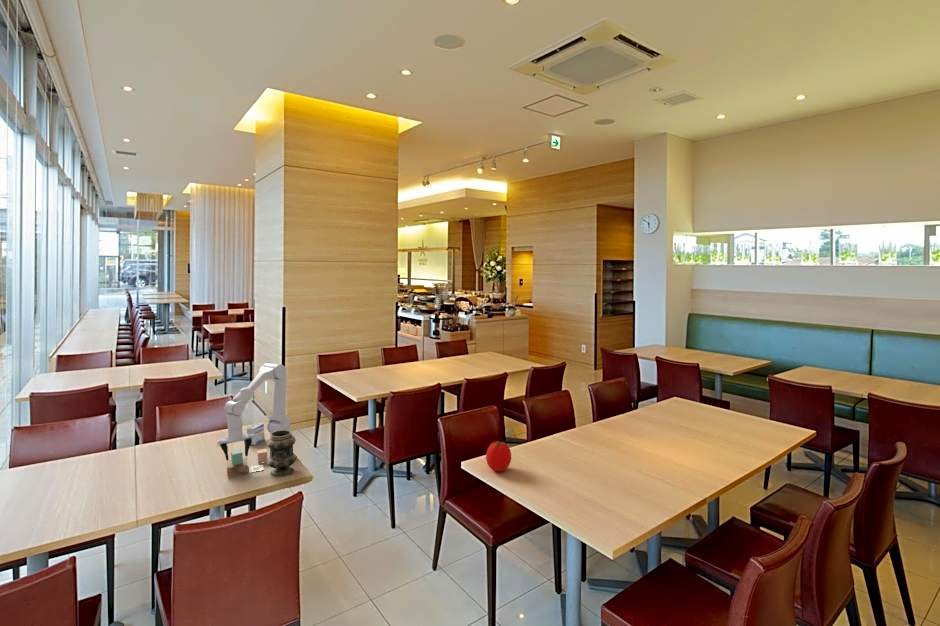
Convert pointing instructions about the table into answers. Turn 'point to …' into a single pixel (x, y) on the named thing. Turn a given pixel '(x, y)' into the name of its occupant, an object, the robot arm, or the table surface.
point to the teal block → (236, 457)
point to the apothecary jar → (281, 453)
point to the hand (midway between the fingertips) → (236, 457)
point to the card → (255, 468)
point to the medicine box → (256, 433)
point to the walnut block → (237, 468)
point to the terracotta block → (262, 455)
